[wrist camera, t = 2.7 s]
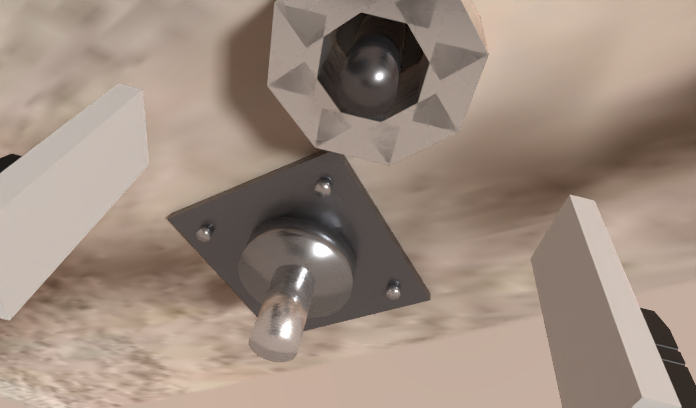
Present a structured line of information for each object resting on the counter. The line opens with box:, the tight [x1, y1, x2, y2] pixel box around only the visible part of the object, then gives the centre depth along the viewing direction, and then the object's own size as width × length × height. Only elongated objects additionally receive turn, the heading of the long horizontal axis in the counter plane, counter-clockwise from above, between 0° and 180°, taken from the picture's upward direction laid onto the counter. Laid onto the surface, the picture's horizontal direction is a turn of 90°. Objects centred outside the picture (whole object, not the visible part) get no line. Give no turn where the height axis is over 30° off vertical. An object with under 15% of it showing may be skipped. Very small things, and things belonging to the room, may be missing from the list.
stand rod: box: [337, 14, 406, 118], centre depth 22 cm, size 2×2×7 cm
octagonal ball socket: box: [267, 0, 489, 165], centre depth 23 cm, size 9×9×5 cm
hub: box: [168, 150, 430, 362], centre depth 32 cm, size 14×14×8 cm
